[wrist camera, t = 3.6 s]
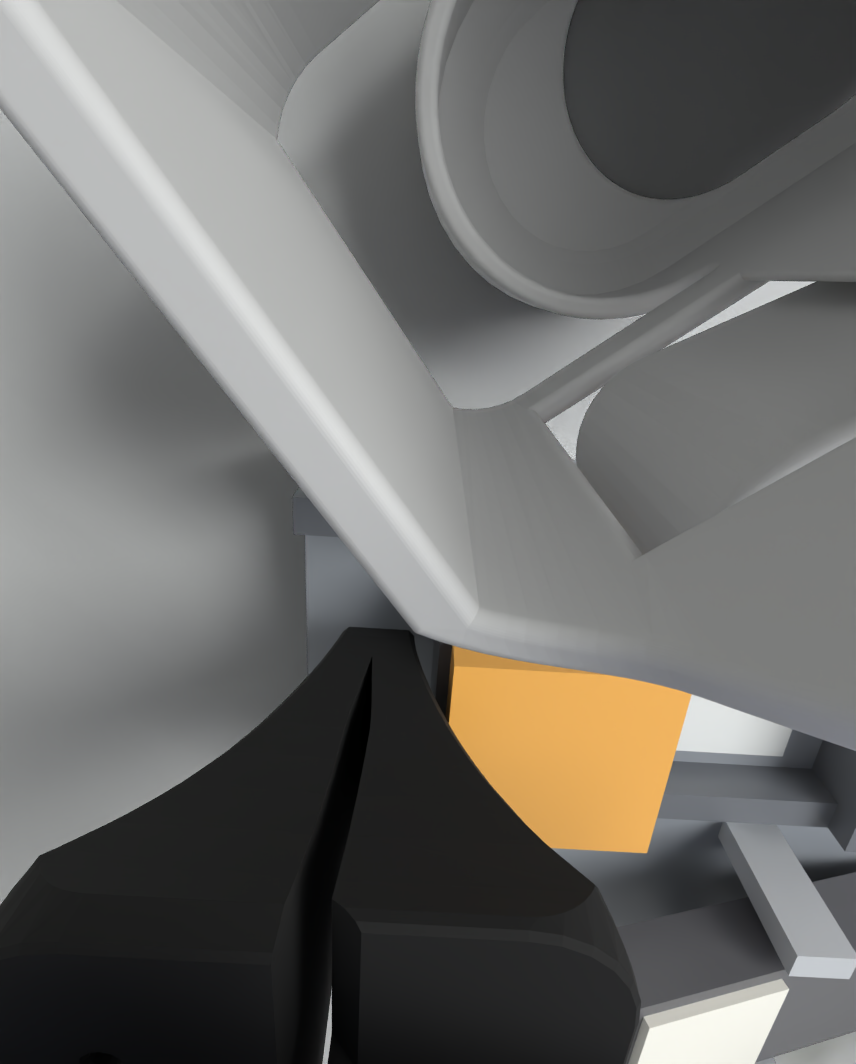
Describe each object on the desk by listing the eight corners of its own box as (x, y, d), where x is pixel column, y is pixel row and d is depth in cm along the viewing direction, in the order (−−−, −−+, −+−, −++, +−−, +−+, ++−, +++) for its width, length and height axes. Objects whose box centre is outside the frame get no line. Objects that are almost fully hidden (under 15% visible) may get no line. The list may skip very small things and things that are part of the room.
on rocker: (894, 863, 15) (966, 931, 13) (847, 954, 16) (908, 1026, 15) (597, 931, 13) (643, 1021, 11) (572, 1029, 14) (610, 1121, 13)
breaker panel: (1095, 493, 13) (1464, 614, 9) (883, 903, 18) (1040, 1122, 14) (322, 443, 13) (258, 540, 8) (324, 873, 18) (285, 1085, 13)
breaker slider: (643, 572, 12) (712, 669, 9) (607, 733, 13) (656, 862, 11) (440, 559, 12) (441, 654, 9) (427, 723, 13) (425, 849, 10)
